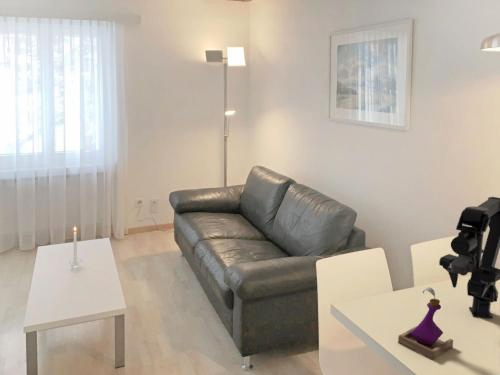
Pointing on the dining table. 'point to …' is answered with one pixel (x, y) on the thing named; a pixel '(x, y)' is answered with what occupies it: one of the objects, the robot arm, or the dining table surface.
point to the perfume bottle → (428, 324)
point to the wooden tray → (429, 352)
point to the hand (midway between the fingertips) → (467, 291)
